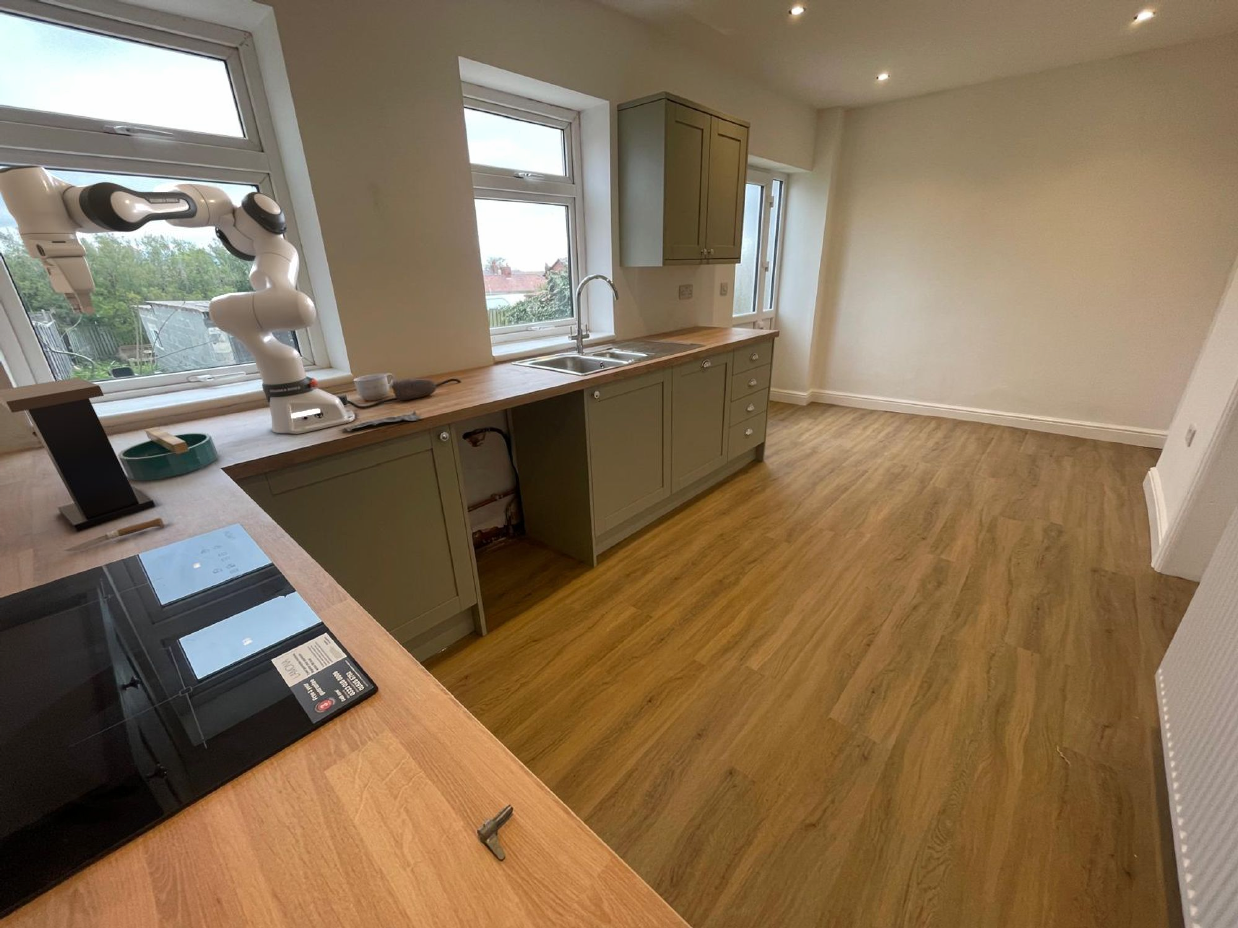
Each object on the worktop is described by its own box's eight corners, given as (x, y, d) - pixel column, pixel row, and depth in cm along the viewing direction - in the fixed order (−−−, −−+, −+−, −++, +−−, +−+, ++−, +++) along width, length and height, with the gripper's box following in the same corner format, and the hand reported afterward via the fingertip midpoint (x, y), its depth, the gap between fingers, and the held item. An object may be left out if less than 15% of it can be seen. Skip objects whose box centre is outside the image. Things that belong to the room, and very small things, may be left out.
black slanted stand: (59, 511, 105) (-8, 391, 95) (132, 489, 114) (78, 377, 104) (77, 531, 96) (5, 401, 86) (155, 506, 105) (99, 385, 95)
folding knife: (66, 557, 88) (60, 548, 87) (66, 554, 89) (60, 544, 88) (165, 527, 97) (161, 518, 96) (164, 524, 98) (160, 515, 97)
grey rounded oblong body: (435, 392, 183) (431, 373, 180) (440, 395, 179) (436, 376, 176) (392, 400, 175) (388, 381, 172) (396, 403, 171) (391, 384, 168)
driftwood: (345, 434, 144) (343, 427, 143) (343, 428, 149) (341, 421, 148) (420, 420, 153) (418, 414, 152) (416, 415, 158) (414, 409, 158)
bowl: (222, 449, 137) (214, 428, 134) (213, 470, 123) (204, 447, 120) (139, 464, 129) (129, 442, 126) (119, 488, 115) (107, 464, 112)
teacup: (363, 404, 172) (358, 381, 169) (354, 398, 180) (349, 376, 177) (404, 396, 181) (399, 374, 177) (394, 390, 188) (389, 369, 185)
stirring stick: (148, 438, 129) (144, 429, 128) (160, 435, 130) (156, 426, 130) (176, 454, 117) (172, 444, 116) (189, 450, 119) (185, 441, 118)
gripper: (26, 251, 114) (56, 313, 120) (44, 247, 103) (76, 316, 109) (65, 250, 119) (91, 310, 125) (86, 246, 108) (114, 313, 114)
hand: (84, 313), depth 117 cm, fingers open, 8 cm apart
